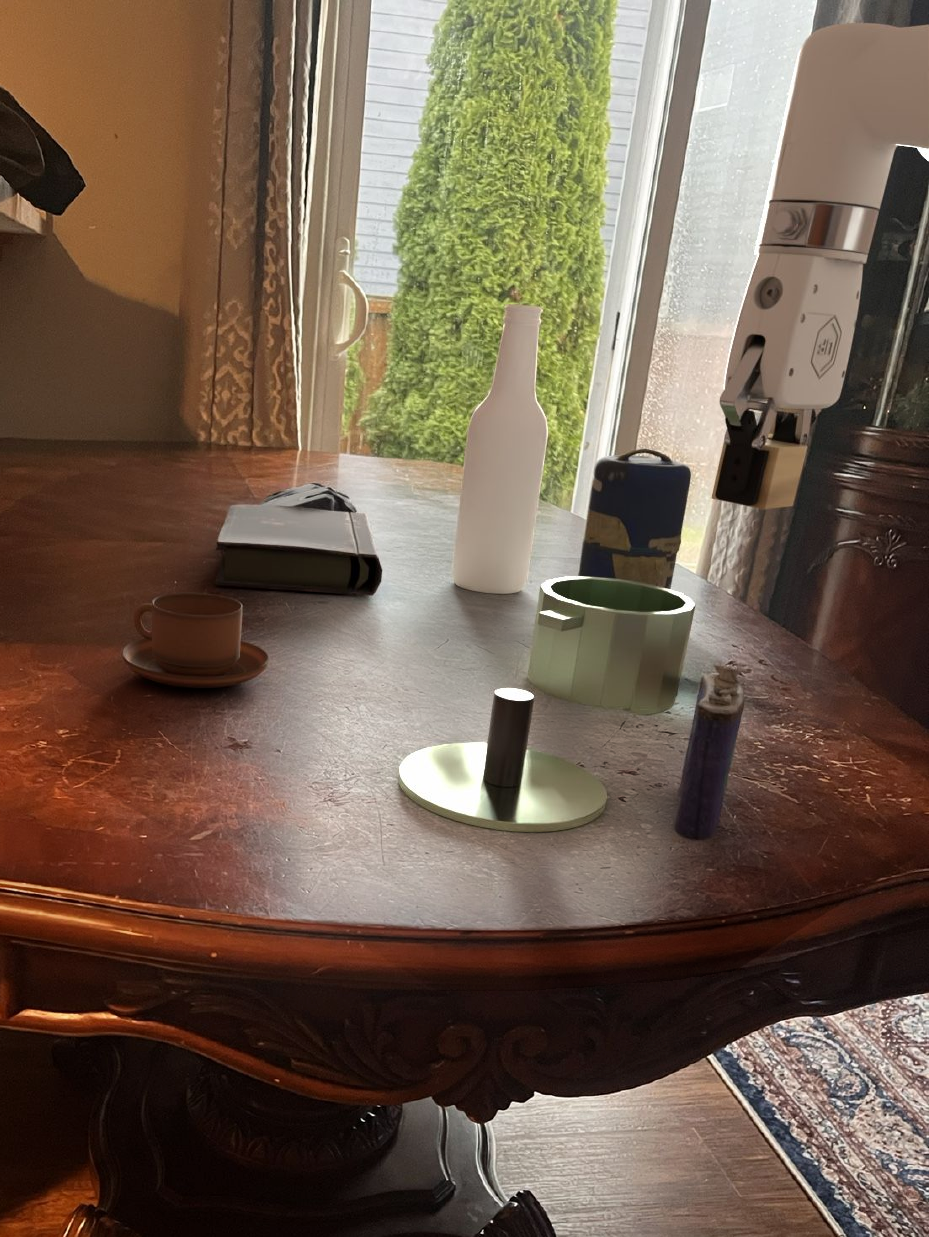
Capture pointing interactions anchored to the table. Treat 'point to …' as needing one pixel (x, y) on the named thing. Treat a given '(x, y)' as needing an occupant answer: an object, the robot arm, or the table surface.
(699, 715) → the flask
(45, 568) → the table surface
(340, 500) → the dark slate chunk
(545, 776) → the lid
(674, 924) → the table surface
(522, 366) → the alcohol
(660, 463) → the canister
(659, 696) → the pot
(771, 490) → the block
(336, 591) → the diary
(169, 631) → the cup and saucer
